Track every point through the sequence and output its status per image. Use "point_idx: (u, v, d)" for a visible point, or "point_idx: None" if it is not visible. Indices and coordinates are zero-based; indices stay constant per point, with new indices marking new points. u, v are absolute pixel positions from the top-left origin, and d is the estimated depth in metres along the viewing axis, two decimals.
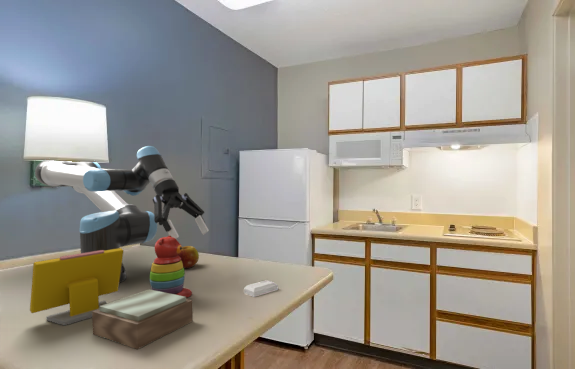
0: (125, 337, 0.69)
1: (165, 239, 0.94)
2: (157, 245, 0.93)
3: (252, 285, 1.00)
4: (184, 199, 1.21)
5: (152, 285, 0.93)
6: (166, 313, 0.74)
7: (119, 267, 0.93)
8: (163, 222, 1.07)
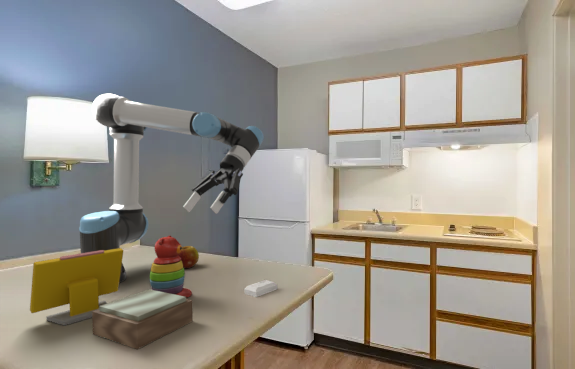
0: (125, 337, 0.69)
1: (165, 239, 0.94)
2: (157, 245, 0.93)
3: (253, 285, 1.00)
4: (214, 177, 1.14)
5: (152, 285, 0.93)
6: (166, 313, 0.74)
7: (119, 267, 0.93)
8: (228, 195, 1.01)
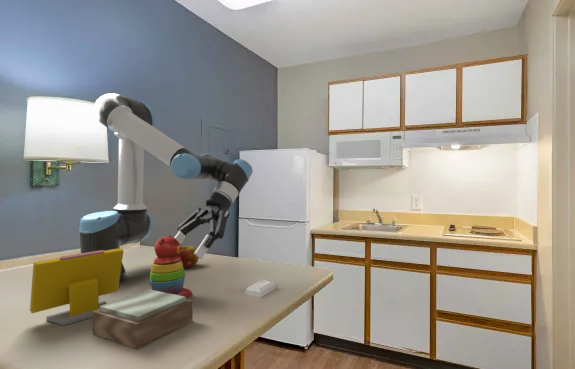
0: (125, 337, 0.69)
1: (165, 239, 0.94)
2: (157, 245, 0.93)
3: (254, 286, 0.99)
4: None
5: (152, 285, 0.93)
6: (166, 313, 0.74)
7: (119, 267, 0.93)
8: (214, 238, 0.96)
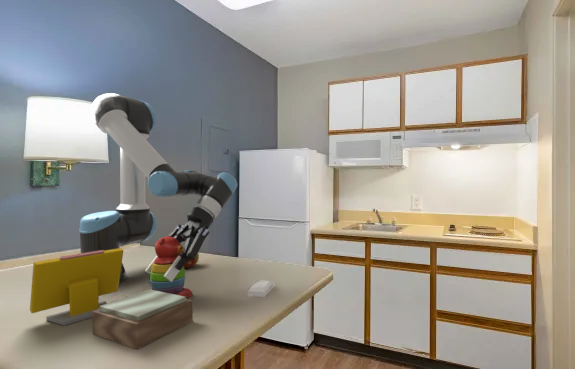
0: (125, 337, 0.69)
1: (165, 239, 0.94)
2: (158, 245, 0.93)
3: (256, 286, 0.99)
4: None
5: (152, 285, 0.93)
6: (166, 313, 0.74)
7: (119, 267, 0.93)
8: (185, 260, 0.93)
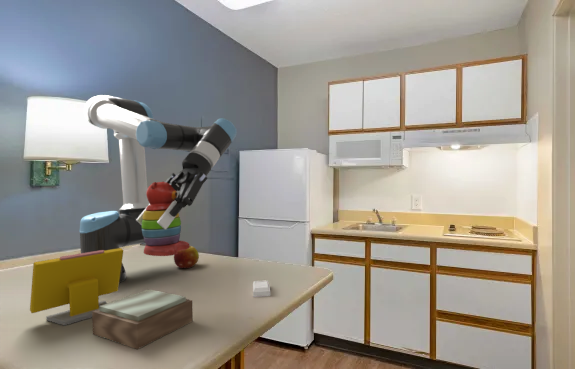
0: (125, 337, 0.69)
1: (158, 183, 0.84)
2: (150, 190, 0.83)
3: (259, 286, 0.99)
4: (176, 181, 0.95)
5: (145, 234, 0.83)
6: (166, 313, 0.74)
7: (119, 267, 0.93)
8: (181, 205, 0.83)
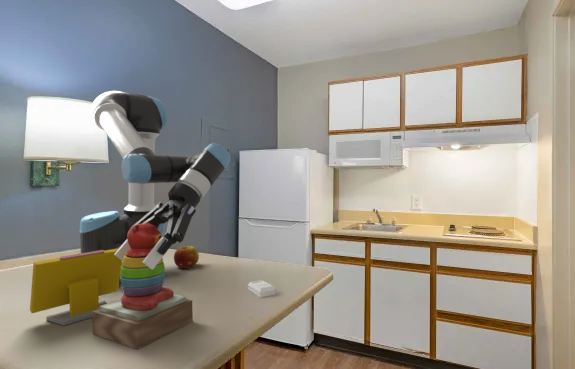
0: (125, 337, 0.69)
1: (141, 226, 0.75)
2: (130, 233, 0.74)
3: (263, 286, 0.99)
4: None
5: (122, 283, 0.74)
6: (166, 313, 0.74)
7: (119, 267, 0.93)
8: (170, 242, 0.74)
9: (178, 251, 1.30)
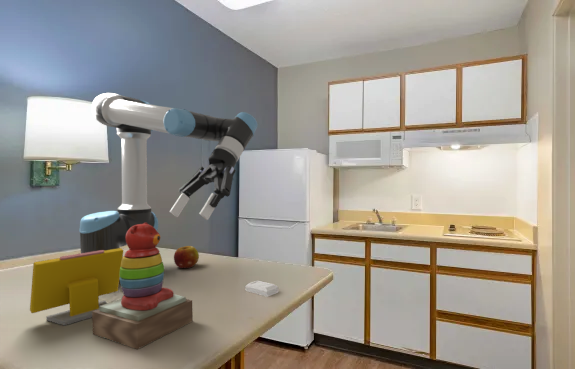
0: (125, 337, 0.69)
1: (139, 226, 0.75)
2: (129, 234, 0.74)
3: (266, 286, 0.99)
4: None
5: (122, 284, 0.74)
6: (166, 313, 0.74)
7: (119, 267, 0.93)
8: (220, 197, 0.87)
9: (178, 251, 1.30)
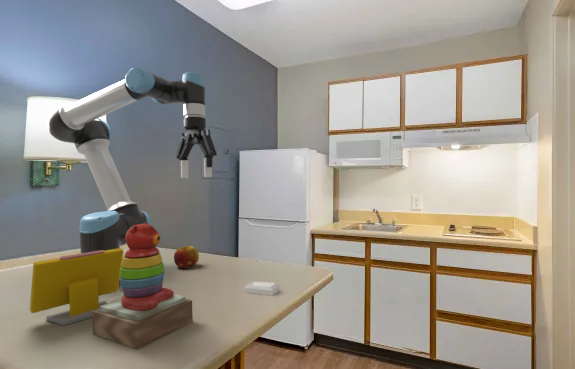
0: (125, 337, 0.69)
1: (139, 226, 0.75)
2: (129, 234, 0.74)
3: (269, 285, 1.00)
4: None
5: (122, 284, 0.74)
6: (166, 313, 0.74)
7: (119, 267, 0.93)
8: (211, 158, 1.15)
9: (178, 251, 1.30)
